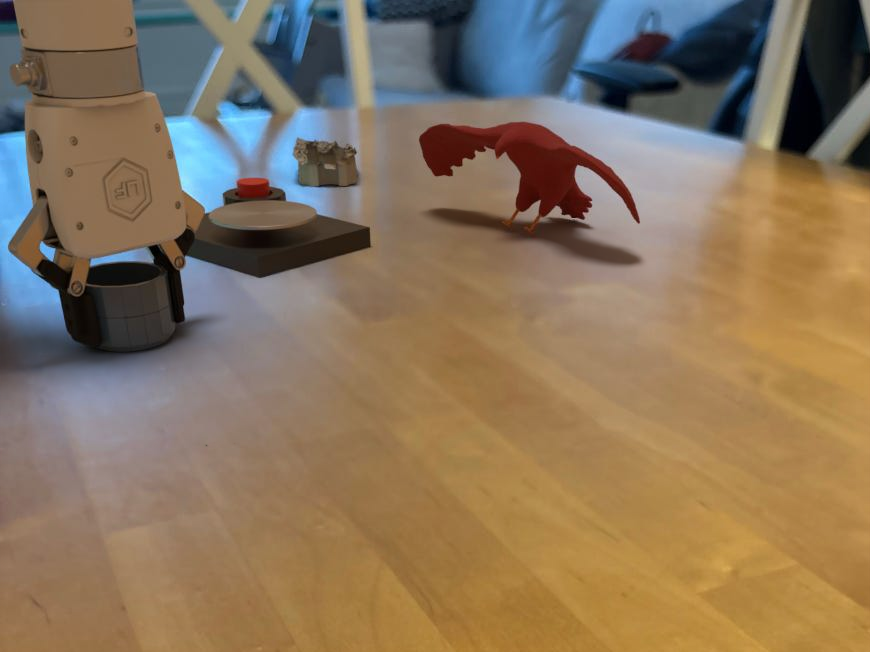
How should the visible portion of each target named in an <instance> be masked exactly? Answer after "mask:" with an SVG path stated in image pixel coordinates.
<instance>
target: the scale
mask: <svg viewBox="0 0 870 652" xmlns="http://www.w3.org/2000/svg"><path fill="white" fill-rule="evenodd" d="M269 187H270V195H269V196H264V197H253V198H252V197H240V196H238V191H237V187H234V188H229V189H227V190H225V191H224V192H223V193H222V202H223V206H225V205H229V204H234V203H240V202H248V201H264V200H275V201H287V195H286V192H285V190H284V189H282V188H279V187H274V186H269ZM210 212H211V211H210ZM210 212H209V211H208V212H205V214H204V217H203V219H202V221H201V223H200V225H199V227H198V229H197V232H195V233H194V234H195V239H194V242H193V244H192V245H191V247H190V249H189V251H188V253H187V254H186V257H189V258H190V257H191V258H193V259H197V260H199V261H204V262H207V263H210V264H213V265H217V266H219V267H223V268H226V269H229V270H231V271H232V270H233V271H235V272H238V273H242V274H246V275H249V276H251V277H255V278H258V279H261V278H264V277H268V276H272V275H275V274H279V273H282V272H283V273H284V272H286V271H290V270H293V269H296V268H297V269H298V268H300V267H305V266H308V265H312V264H315V263H318V262H322V261H325V260H329V259H333V258H336V257H339V256H340V257H341V256H343V255H347V254H350V253H353V252H354V253H355V252H359V251H362V250H365V249H368V248H371V247H372V245H371V241H372V240H371V227H370V226H367V225H362V224H358V223H355V222H351V221H347V220H341V219H339V218H334V217H331V216H326V215H322V214H318V213H317V216H316V218H315V219H314V220H312V221H310V222H308V223H306V224H303V225H299V226H295V227H289V228H282V229H272V230H241V229H232V228H226V227H222V226H219V225H216V224H214V223H212V222H211V221H210V220H209V213H210Z"/></svg>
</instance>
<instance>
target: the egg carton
mask: <svg viewBox="0 0 870 652" xmlns="http://www.w3.org/2000/svg"><path fill="white" fill-rule="evenodd" d="M357 154H358V150H356V147H353V145H352V144H350V143H346V144H345V146H340V145H339V144H338V141H337V140H334V141H333V142H329V141H327V140H321V141H319V140H316V139H314V140H312V141H311V140H306V139H303V138H300V137H296V140H295V144H294V146H293V151H292V156H293V157H294V159H295V160H296V161H297V167H298V169H297V170H298V181H299V185H303V186H308V187H314V188H315V187H316V188H317V187H319V186H322V185H323V186H324V185H336V186H339V187H347V186H349V185H353V184H354V185H355V184H356V183H357V179H358V178H357V177H358V176H357V175H358V169H357V162H356V155H357Z"/></svg>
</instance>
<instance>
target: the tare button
mask: <svg viewBox="0 0 870 652" xmlns="http://www.w3.org/2000/svg"><path fill="white" fill-rule="evenodd" d="M270 187H271V186H270V180H269V179H267V178H265V177H244V178H243V177H242V178H240V179H237V180H236V188H237V191H238V196H240V197H252V198H253V197H264V196H269V195H270Z"/></svg>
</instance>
